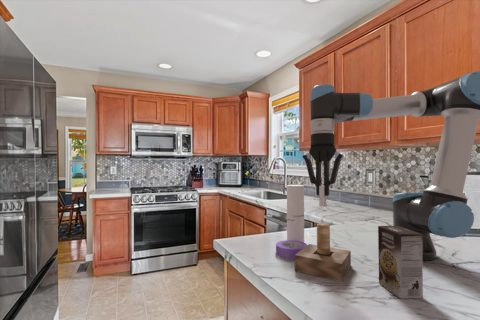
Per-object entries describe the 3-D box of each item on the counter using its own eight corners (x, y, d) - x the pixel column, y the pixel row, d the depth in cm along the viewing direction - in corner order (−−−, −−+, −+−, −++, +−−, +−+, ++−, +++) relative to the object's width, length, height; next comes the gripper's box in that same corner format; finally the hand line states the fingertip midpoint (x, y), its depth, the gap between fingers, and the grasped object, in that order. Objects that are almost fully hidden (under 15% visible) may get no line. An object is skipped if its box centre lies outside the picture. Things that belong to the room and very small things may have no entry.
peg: (331, 267, 84) (331, 224, 85) (328, 272, 81) (328, 226, 81) (319, 265, 87) (318, 222, 87) (315, 269, 83) (315, 225, 84)
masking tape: (273, 257, 95) (273, 247, 95) (279, 248, 106) (279, 238, 106) (306, 261, 91) (306, 250, 91) (309, 251, 102) (308, 241, 102)
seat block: (350, 266, 86) (350, 250, 86) (341, 281, 74) (341, 263, 74) (309, 258, 94) (309, 244, 94) (294, 271, 82) (294, 254, 82)
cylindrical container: (304, 247, 106) (304, 186, 106) (286, 246, 107) (286, 185, 108) (303, 242, 113) (303, 184, 113) (287, 241, 114) (286, 184, 115)
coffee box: (377, 283, 73) (376, 225, 74) (399, 282, 74) (398, 225, 74) (400, 299, 64) (399, 233, 65) (424, 298, 65) (423, 233, 65)
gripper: (299, 133, 86) (299, 205, 85) (340, 130, 78) (341, 209, 78) (306, 135, 92) (306, 203, 91) (345, 133, 85) (346, 206, 84)
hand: (322, 205), depth 84 cm, fingers closed
